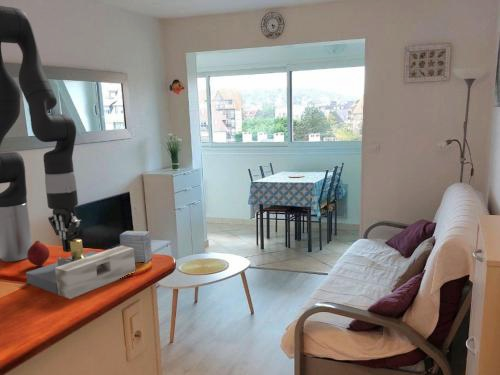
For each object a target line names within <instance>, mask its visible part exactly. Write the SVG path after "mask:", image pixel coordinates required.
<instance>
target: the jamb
mask: <svg viewBox="0 0 500 375" xmlns="http://www.w3.org/2000/svg"><path fill="white" fill-rule="evenodd" d="M97 253H98V254H95V255H92V256H89V257H86V258H83V259H80V260H76V261H73V262H70V263H67V264H64V265H61V266H58V267H55V272H56V281H57V289H58V294H57V295H58V296H61V297H64V298H66V299H69V300H71V299H74V298H76V297H79V296H81V295H83V294H85V293H88V292H90V291H91V292H92V291H93V290H95V289H99V288H100V287H103V286H105V285H108V284H111V283H113V282H116V281H118V280H120V278H121V279H123V278H125V277H126V276H125V275H127V274H129V273H132V272H134V271H136V262H135V259H134V248H131V247H126V246H121V245H119V246H116V247H113V248H110V249H106V250H105V251H104V250H103V251H101V252H97ZM100 264H101V268H102V269H99V270H96V266H97V265H100ZM124 276H125V277H124ZM122 277H123V278H122Z"/></svg>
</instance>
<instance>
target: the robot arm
mask: <svg viewBox="0 0 500 375" xmlns="http://www.w3.org/2000/svg"><path fill="white" fill-rule="evenodd" d="M2 43H4V44H5V43H6V44H16V45H18V47H19V49H20V51H21V54H22V59H21V60H22V61H21V64H20V68H19V72H18V84H19V86H18V84H17V82H16V80H15V79H14V77H13V75H11V72H10V71H9V69H8V68H7V66H6V64H5V61H4V59H3V58H4V57H3V53H2ZM42 64H43V63H42V60H41V55H40V52H39V48H38V44H37V40H36V37H35V34H34V29H33V27H32V24H31V22H30V19H29V17H28V15H27V14H26V12H25V11H23V10H22V9H20V8H17V7H11V6H4V5H0V147H1V145H2V143H3V141H4V138H5V137H6V136H7V134H8V132H10V130H11V129H12V127H13V126H14V125H15V123H16V122H17V120H18V118H20V114H21V92H22V94H23V97H24V98H25V101H26V103H27V105H28V111H29V118H30V126H31V132H32V134H33V135H34V136H35V138H36V139H37V140H39V141H40V142H42V143H53V142H56V143H55V146H54V149H52V150H49V151H46V152H45V153H44V154H43V167H44V173H45V174H44V177H45V178H44V179H45V180H44V184H45V194H46V201H47V207H48V208H49V209H51V210H52V216H48V222H49V224H50V226H51V227H52V230H53V232H54V233H55V235H56V236H59V239H61V243H62V251H63V252H65V253H71V248H70V240H73V238H74V237H77V236H78V234H79V232H80V229H81V227H82V224H83V220H82V219H78V217H77V213H76V210H75V207H77V206H78V205H79V201H78V200H79V199H78V190H77V182H76V176H75V172H74V171H75V169H74V163H73V162H74V161H73V154H74V148H75V143H76V136H77V127H76V123H75V121H74V120H73V118H72V117H71V116H70V115H68V114H62V113H61V114H60V113H59V114H50V113H48V111H50V110H52V109H54V108H55V107H56V106H57V103H58V101H57V97H56V95H55V93H54V90H53V88H52V86H51V84H50V82H49V80H48V77H47V75H46V72H45V69H44V66H43V65H42ZM20 89H21V91H20ZM26 180H27V179H26V166H25V161H24V159H23V157H22V155H21V154H20V153H19V152H16V151H11V152H9V151H8V152H7V151H6V152H0V184H1V185H2V184H7V183H9V185H8V187H7V188H5V190H3V191H1V192H0V261H2V262H16V261H22V260H26V259H28V257H27V253H28V250H29V248H30V247H31V246H32V245H33V238H32V230H31V223H30V215H29V206H28V200H27V196H28V195H27V194H28V192H27V182H26Z"/></svg>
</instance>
